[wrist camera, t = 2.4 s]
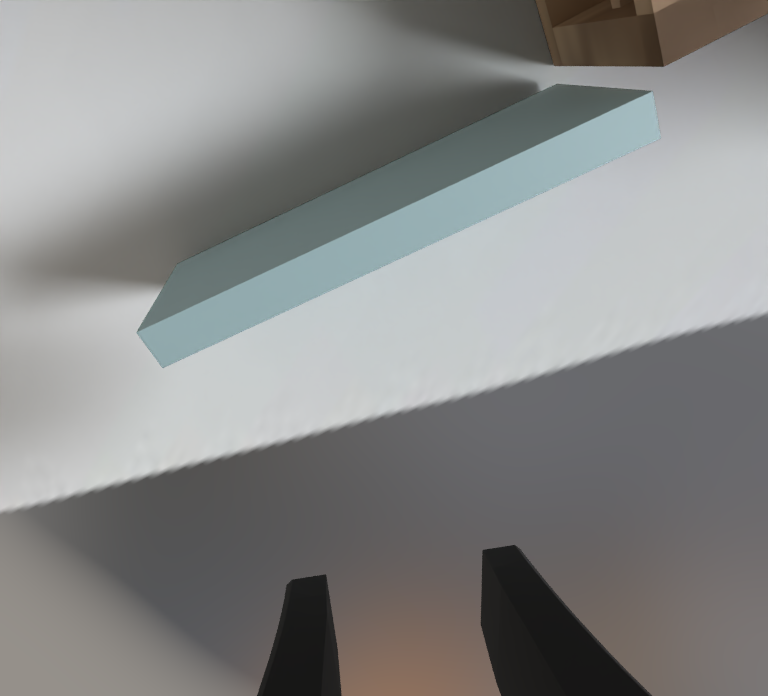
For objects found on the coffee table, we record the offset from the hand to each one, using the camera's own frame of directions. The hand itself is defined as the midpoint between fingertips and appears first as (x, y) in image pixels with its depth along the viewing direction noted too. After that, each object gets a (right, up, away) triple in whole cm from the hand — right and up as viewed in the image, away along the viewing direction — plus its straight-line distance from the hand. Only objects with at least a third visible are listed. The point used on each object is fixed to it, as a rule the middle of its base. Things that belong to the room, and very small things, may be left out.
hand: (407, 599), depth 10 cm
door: (-1, +9, +6) cm, 11 cm away
